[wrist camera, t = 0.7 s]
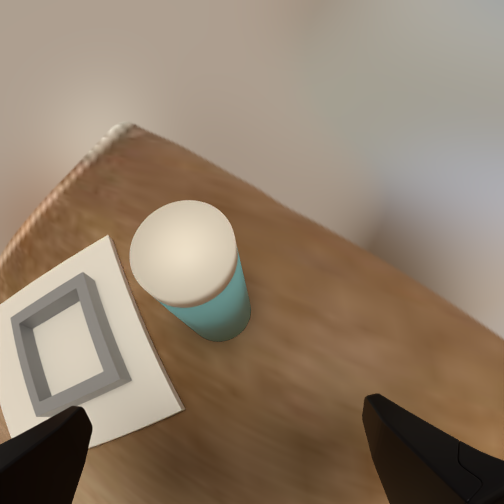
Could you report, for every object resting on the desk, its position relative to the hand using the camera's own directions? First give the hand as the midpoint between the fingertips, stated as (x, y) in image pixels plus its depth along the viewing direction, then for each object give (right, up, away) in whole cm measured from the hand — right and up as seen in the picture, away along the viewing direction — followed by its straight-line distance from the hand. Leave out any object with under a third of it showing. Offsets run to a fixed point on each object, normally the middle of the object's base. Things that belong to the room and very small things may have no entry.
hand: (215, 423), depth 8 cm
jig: (-16, -4, +14) cm, 21 cm away
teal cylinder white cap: (-1, +1, +15) cm, 15 cm away
